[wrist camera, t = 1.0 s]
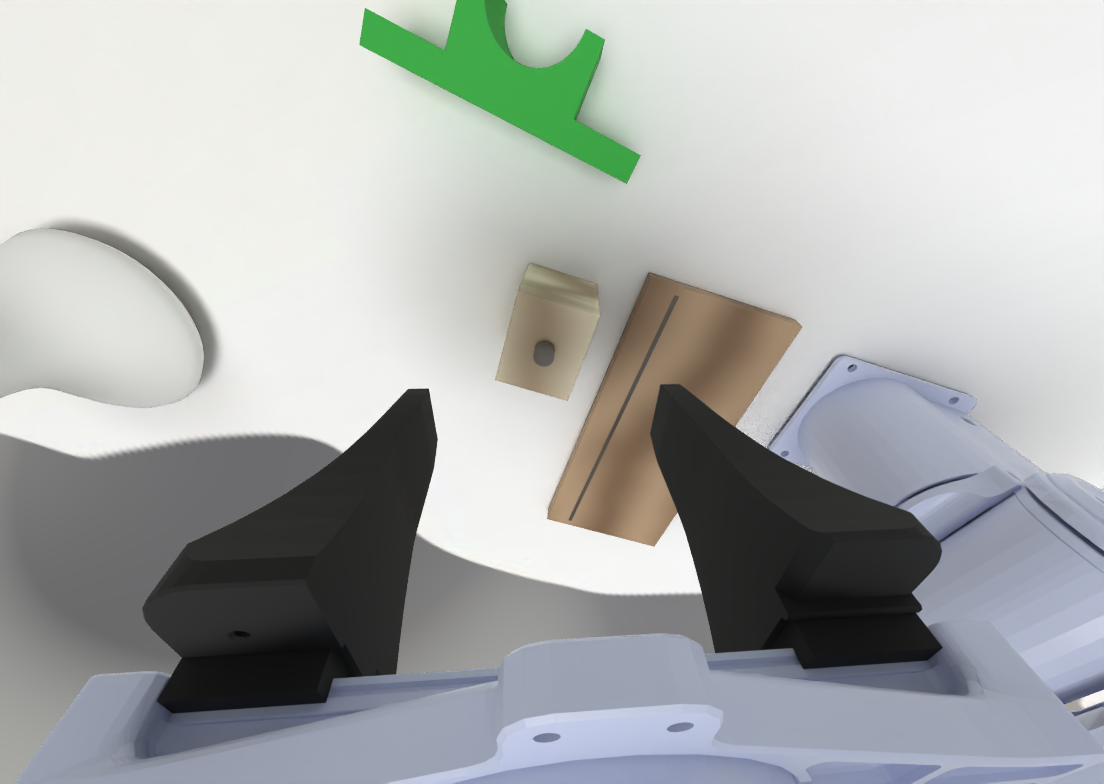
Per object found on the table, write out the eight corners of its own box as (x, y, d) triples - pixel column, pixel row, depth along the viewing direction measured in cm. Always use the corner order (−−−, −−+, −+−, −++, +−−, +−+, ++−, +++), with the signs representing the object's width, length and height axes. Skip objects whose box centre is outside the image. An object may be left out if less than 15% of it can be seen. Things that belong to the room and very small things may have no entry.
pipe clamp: (658, 90, 19) (678, 81, 15) (619, 174, 21) (627, 184, 17) (422, -44, 17) (377, -93, 13) (402, 61, 19) (357, 45, 15)
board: (794, 319, 24) (802, 327, 23) (652, 536, 35) (654, 547, 34) (649, 272, 23) (651, 278, 23) (548, 509, 34) (547, 519, 33)
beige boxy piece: (597, 283, 24) (601, 323, 19) (570, 357, 27) (567, 409, 22) (529, 262, 24) (515, 297, 19) (509, 339, 26) (492, 388, 21)
